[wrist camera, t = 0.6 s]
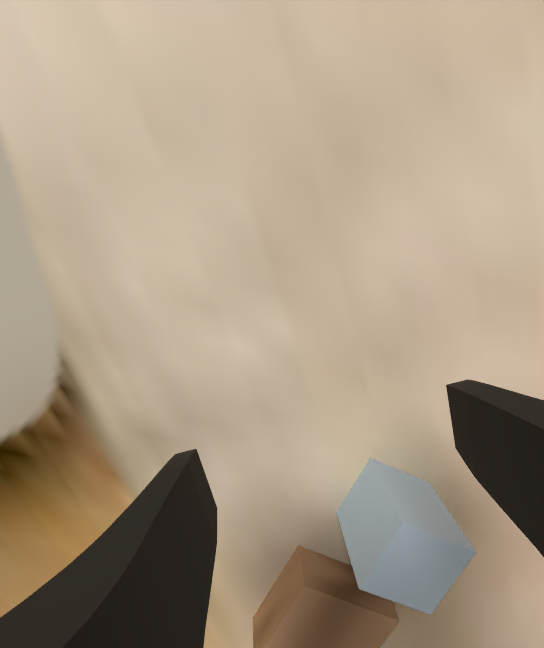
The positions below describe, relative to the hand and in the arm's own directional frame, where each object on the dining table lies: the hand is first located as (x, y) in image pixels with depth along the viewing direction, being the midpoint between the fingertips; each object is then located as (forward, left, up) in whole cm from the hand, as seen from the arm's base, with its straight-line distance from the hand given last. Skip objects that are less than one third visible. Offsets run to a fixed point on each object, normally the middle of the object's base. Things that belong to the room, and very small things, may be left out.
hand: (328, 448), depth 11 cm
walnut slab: (-9, +14, -10) cm, 20 cm away
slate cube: (-9, +6, -10) cm, 15 cm away
